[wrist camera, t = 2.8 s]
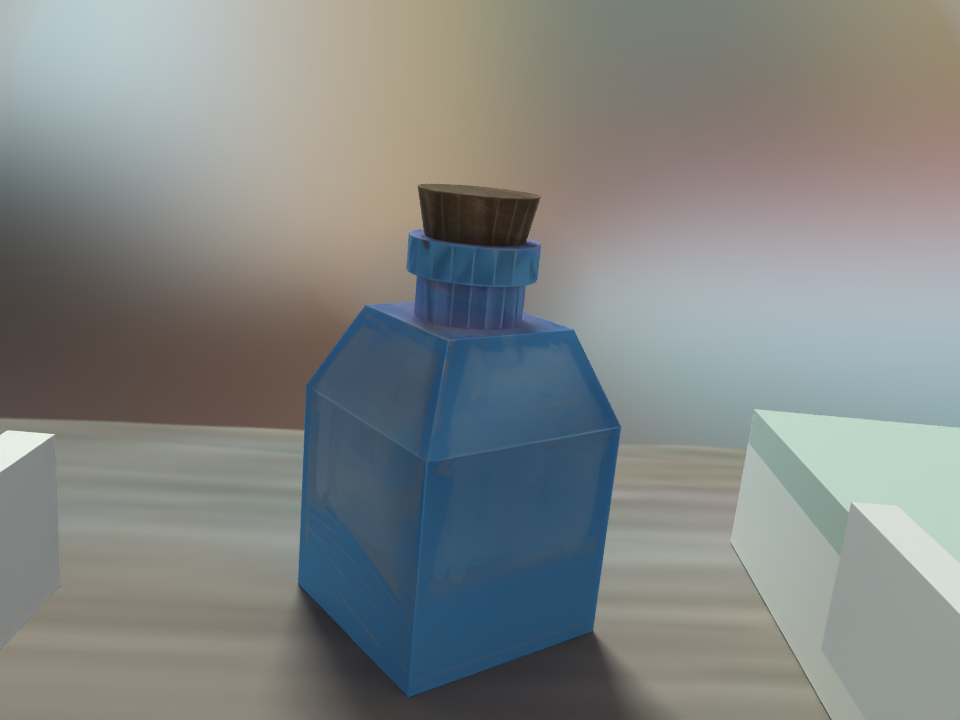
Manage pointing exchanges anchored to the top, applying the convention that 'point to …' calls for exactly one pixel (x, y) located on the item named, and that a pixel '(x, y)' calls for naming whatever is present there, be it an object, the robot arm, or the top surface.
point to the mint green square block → (833, 514)
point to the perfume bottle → (457, 458)
